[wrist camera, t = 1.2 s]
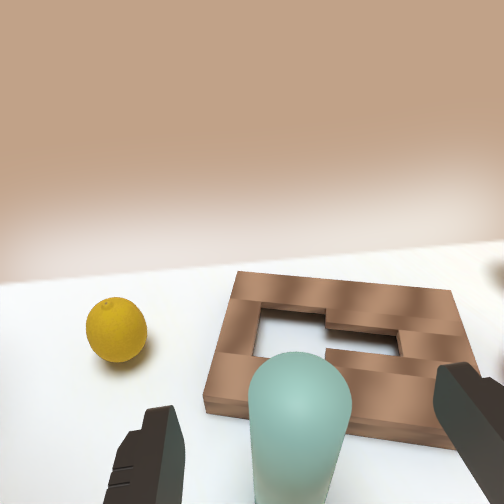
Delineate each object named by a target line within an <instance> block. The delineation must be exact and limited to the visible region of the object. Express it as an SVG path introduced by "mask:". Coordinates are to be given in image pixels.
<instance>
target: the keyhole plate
mask: <svg viewBox="0 0 504 504" xmlns="http://www.w3.org/2000/svg"><path fill="white" fill-rule="evenodd" d="M261 308H269V309H279V310H288V311H298V312H307V313H317V314H326V316H325V328H328V329H337V330H346V331H355V332H364V333H373V334H383V335H392V336H396V337H397V342H398V348H399V354H400V357H399V356H390V355H382V354H373V353H365V352H356V351H348V350H339V349H330V348H326V352H325V360H326V361H327V362H329V363H330V364H332V365H333V366H334V367H335V368H336V369H337V370H338V371H339V372H340V373H341V375H342V376H343V377H344V379H345V381H346V383H347V385H348V387H349V390H350V393H351V399H352V411H351V416H350V419H349V423H348V426H347V429H346V433H345V434H350V435H357V436H364V437H371V438H377V439H384V440H391V441H398V442H404V443H411V444H418V445H425V446H431V447H438V448H445V449H452V450H456V448H455V447H454V445H453V444H452V442H451V441H450V439H449V437H448V436H447V434H446V433H445V431H444V429H443V428H442V426H441V425H440V423H439V421H438V419H437V417H436V415H435V412H434V408H433V395H434V388H435V381H436V374H437V368H438V367H439V366H440V365H445V364H451V363H458V362H468V363H469V364H470V365H471V366H472V367H473V368H474V369H475V370H476V371H477V372H478V374H479V375H480V376H481V374H480V371H479V369H478V366H477V363H476V360H475V357H474V355H473V352H472V349H471V346H470V343H469V340H468V338H467V335H466V332H465V329H464V326H463V324H462V321H461V318H460V315H459V312H458V309H457V307H456V304H455V301H454V298H453V295H452V293H451V290H442V289H431V288H420V287H409V286H398V285H387V284H376V283H365V282H354V281H343V280H332V279H321V278H310V277H298V276H287V275H276V274H265V273H254V272H243V271H238V272H237V275H236V279H235V282H234V286H233V289H232V293H231V296H230V300H229V303H228V307H227V311H226V314H225V318H224V321H223V325H222V328H221V332H220V335H219V339H218V342H217V346H216V349H215V353H214V356H213V360H212V363H211V367H210V371H209V374H208V378H207V381H206V385H205V388H204V392H203V399H204V404H205V409H206V413H209V414H215V415H222V416H229V417H236V418H242V419H249V404H248V391H249V386H250V382H251V380H252V377H253V375H254V374H255V372H256V371H257V369H258V368H259V367H260V366H261V365H262V364H263V363H264V362H266V361H267V360H268V359H270V358H264V357H255V356H252V355H253V350H254V344H255V339H256V334H257V329H258V323H259V318H260V313H261ZM249 420H250V419H249Z"/></svg>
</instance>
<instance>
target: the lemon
mask: <svg viewBox="0 0 504 504" xmlns="http://www.w3.org/2000/svg"><path fill="white" fill-rule="evenodd" d="M86 334H87V339H88V341H89V344H90V346H91V348H92V349H93V351H94V352H95V353H96V354H97V355H98V356H99V357H101V358H102V359H104V360H106V361H109V362H115V363H116V362H124V361H128V360H130V359H132V358H133V357H135V356H136V355H137V354H138V353H139V352H140V351H141V350H142V348H143V346H144V345H145V342H146V338H147V325H146V322H145V319H144V316H143V314H142V313H141V311H140V310H139V309H138V308H137V306H136V305H135V304H134V303H132V302H131V301H129V300H127V299H124V298H120V297H113V298H108V299H105V300H103V301H101V302H99V303H98V304H96V305H95V306H94V307H93V308H92V310H91V311H90V313H89V315H88V317H87V321H86Z"/></svg>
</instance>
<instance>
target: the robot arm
mask: <svg viewBox="0 0 504 504" xmlns="http://www.w3.org/2000/svg"><path fill="white" fill-rule="evenodd" d="M433 408H434V412H435V415H436V417H437V419H438V421H439V423H440V425H441V426H442V428H443V429H444V431H445V433H446V434H447V436H448V437H449V439H450V441H451V442H452V444H453V445H454V447H455V448H456V450H457V452H458V453H459V455H460V456H461V458H462V460H463V461H464V463H465V464H466V466H467V467H468V469H469V471H470V472H471V474H472V475H473V477H474V479H475V480H476V482H477V483H478V485H479V487H480V488H481V490H482V491H483V493H484V494H485V496H486V498H487V499H488V501H489V502H490V504H504V386H503V385H501V384H500V383H498V382H497V381H495V380H494V379H492V378H490V377H487V378H482V377H481V376H480V375H479V374H478V372H477V371H476V370H475V369H474V368H473V367H472V366H471V365H470V364H469V363H468V362H458V363H451V364H445V365H440V366H439V367H438V368H437V374H436V381H435V388H434V395H433ZM184 467H185V444H184V438H183V435H182V432H181V428H180V425H179V422H178V419H177V415H176V412H175V409H174V407H173V405H170V406H163V407H156V408H150V409H147V410H146V412H145V415H144V419H143V424H142V429H141V430H135V431H129V433H128V434H127V436H126V437H125V439H124V440H123V442H122V443H121V445H120V446H119V448H118V450H117V453H116V457H115V461H114V465H113V468H112V469H113V472H112V473H111V476H110V480H109V483H108V489H107V491H106V494H105V498H104V502H103V504H181V502H182V491H183V479H184Z"/></svg>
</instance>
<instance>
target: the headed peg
mask: <svg viewBox="0 0 504 504" xmlns="http://www.w3.org/2000/svg"><path fill="white" fill-rule="evenodd" d="M248 404H249V419H250V435H251V450H252V465H253V481H254V493H255V504H324V503H325V500H326V496H327V493H328V490H329V486H330V483H331V480H332V476H333V473H334V470H335V466H336V463H337V459H338V456H339V453H340V449H341V446H342V443H343V439H344V436H345V433H346V429H347V426H348V423H349V419H350V416H351V411H352V399H351V393H350V390H349V387H348V385H347V383H346V381H345V379H344V377H343V376H342V375H341V373H340V372H339V371H338V370H337V369H336V368H335V367H334V366H333V365H332V364H330V363H329V362H327V361H326V360H324V359H322V358H320V357H318V356H316V355H313V354H309V353H304V352H287V353H282V354H279V355H276V356H274V357H272V358H270V359H268V360H267V361H266V362H264V363H263V364H262V365H261V366H260V367H259V368H258V369H257V371H256V372H255V374H254V375H253V377H252V380H251V382H250V386H249V391H248Z"/></svg>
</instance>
